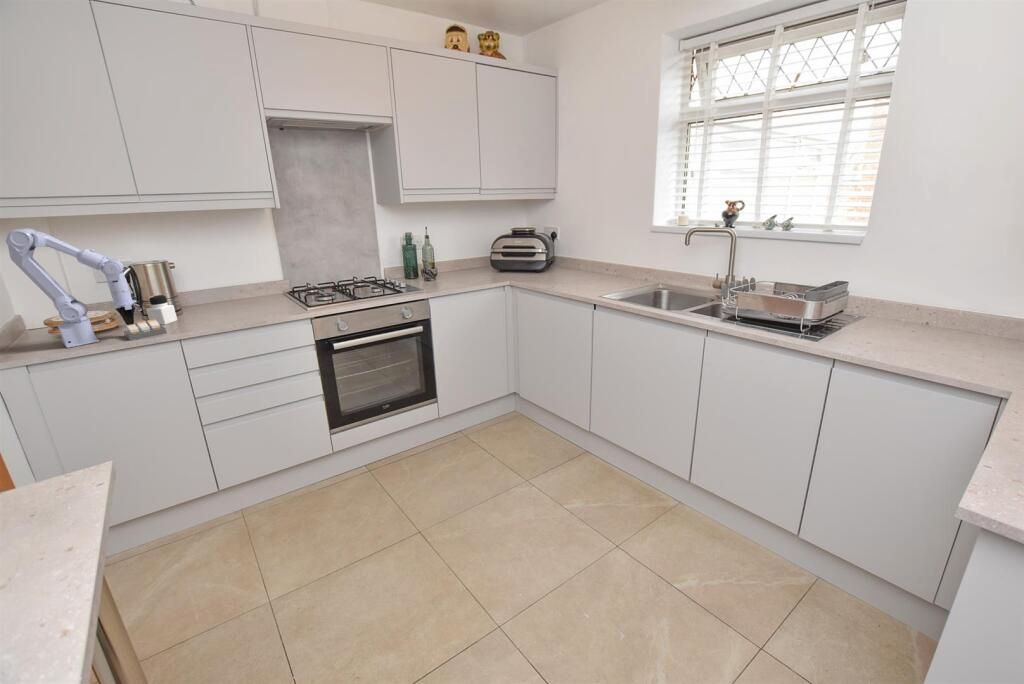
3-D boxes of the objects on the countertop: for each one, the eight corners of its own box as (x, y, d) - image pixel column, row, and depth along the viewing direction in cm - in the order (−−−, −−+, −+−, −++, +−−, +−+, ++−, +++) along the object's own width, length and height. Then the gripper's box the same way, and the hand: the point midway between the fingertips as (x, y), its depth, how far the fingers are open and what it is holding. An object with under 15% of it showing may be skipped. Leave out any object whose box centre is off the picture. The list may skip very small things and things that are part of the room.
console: (130, 340, 182) (128, 335, 181) (124, 336, 188) (123, 330, 187) (166, 332, 190) (165, 327, 189) (160, 328, 196) (158, 323, 196)
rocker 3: (152, 328, 188) (151, 325, 187) (147, 323, 191) (147, 320, 191) (160, 327, 190) (159, 324, 189) (155, 321, 193) (154, 318, 193)
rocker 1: (131, 333, 183) (130, 330, 182) (126, 327, 187) (125, 324, 186) (139, 331, 185) (138, 328, 184) (134, 325, 188) (133, 322, 188)
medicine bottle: (178, 320, 210) (170, 293, 206) (165, 324, 203) (157, 297, 199) (163, 320, 210) (155, 294, 207) (150, 324, 204) (142, 297, 200)
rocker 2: (141, 330, 185) (141, 328, 185) (137, 325, 189) (136, 322, 188) (149, 329, 187) (149, 326, 187) (145, 323, 191) (144, 320, 190)
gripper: (136, 291, 181) (147, 325, 185) (128, 287, 190) (138, 319, 194) (113, 294, 176) (124, 329, 180) (106, 290, 185) (117, 323, 189)
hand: (130, 324), depth 187 cm, fingers closed, pressing on rocker 1
